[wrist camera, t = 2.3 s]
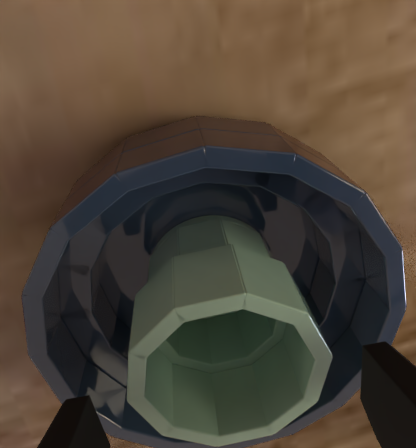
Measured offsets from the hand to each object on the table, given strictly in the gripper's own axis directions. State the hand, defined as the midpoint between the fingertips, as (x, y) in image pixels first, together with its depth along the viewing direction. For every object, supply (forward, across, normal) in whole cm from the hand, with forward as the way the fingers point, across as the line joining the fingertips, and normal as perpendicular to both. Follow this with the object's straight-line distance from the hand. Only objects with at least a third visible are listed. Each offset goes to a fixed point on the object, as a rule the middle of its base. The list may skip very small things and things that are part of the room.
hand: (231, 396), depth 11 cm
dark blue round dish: (+7, 0, 0) cm, 7 cm away
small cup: (+6, 0, 0) cm, 6 cm away
